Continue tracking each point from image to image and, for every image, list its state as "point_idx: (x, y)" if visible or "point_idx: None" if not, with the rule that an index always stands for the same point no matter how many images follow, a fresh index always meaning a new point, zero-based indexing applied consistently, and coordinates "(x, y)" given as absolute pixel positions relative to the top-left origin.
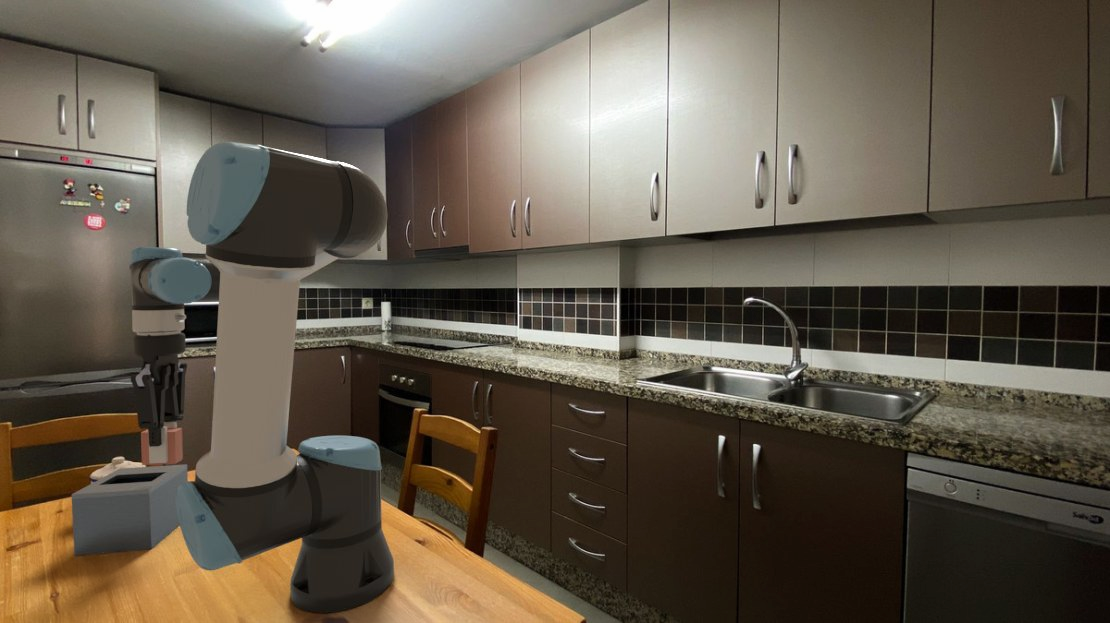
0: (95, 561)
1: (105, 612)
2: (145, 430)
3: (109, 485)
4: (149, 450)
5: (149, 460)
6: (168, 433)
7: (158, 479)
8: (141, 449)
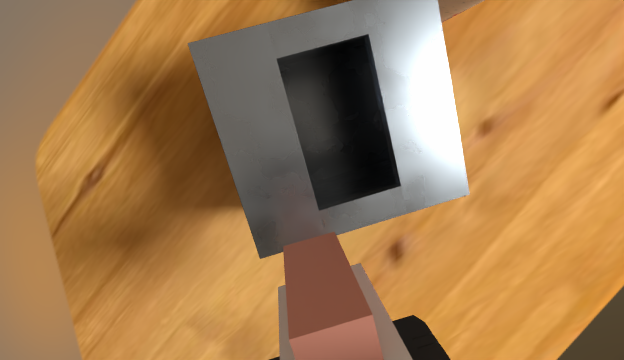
0: (207, 137)
1: (71, 307)
2: (333, 327)
3: (275, 102)
4: (279, 322)
5: (278, 294)
6: None
7: (335, 219)
8: (286, 279)
